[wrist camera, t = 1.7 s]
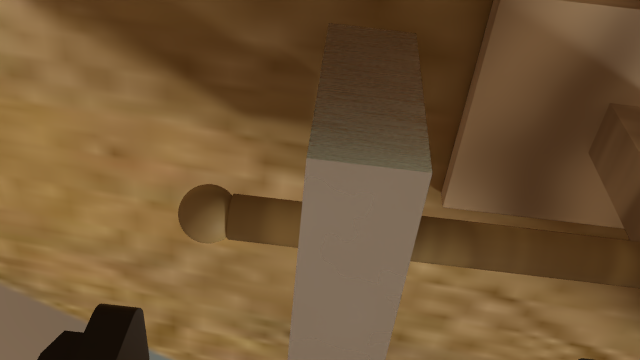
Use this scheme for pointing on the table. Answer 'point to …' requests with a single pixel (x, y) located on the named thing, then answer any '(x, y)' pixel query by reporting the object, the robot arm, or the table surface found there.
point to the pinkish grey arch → (360, 195)
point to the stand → (515, 152)
